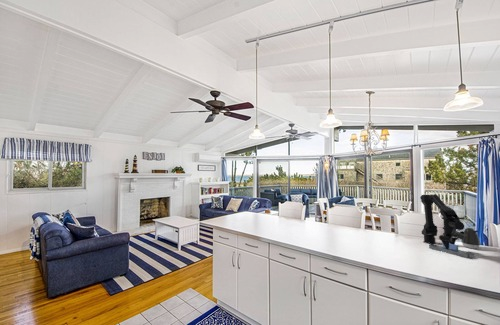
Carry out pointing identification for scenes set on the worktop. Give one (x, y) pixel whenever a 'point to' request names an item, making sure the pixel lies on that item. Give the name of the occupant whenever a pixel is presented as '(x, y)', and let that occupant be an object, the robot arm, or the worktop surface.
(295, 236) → the worktop surface
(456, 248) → the blue notched pillar
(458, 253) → the rail
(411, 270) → the worktop surface
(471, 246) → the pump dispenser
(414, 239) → the worktop surface
